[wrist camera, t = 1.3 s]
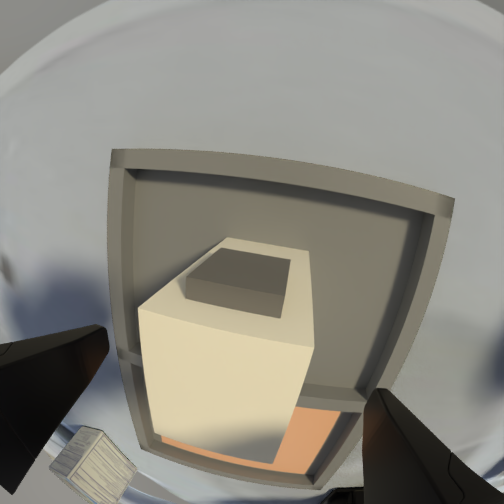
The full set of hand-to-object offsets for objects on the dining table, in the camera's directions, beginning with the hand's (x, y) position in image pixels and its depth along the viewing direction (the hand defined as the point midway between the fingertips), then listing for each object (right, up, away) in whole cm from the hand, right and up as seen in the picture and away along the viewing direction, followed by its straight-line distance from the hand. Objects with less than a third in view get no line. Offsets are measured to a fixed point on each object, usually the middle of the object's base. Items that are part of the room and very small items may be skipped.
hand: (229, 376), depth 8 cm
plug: (+1, +2, +6) cm, 7 cm away
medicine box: (-17, -20, +16) cm, 31 cm away
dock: (0, -4, +8) cm, 9 cm away
